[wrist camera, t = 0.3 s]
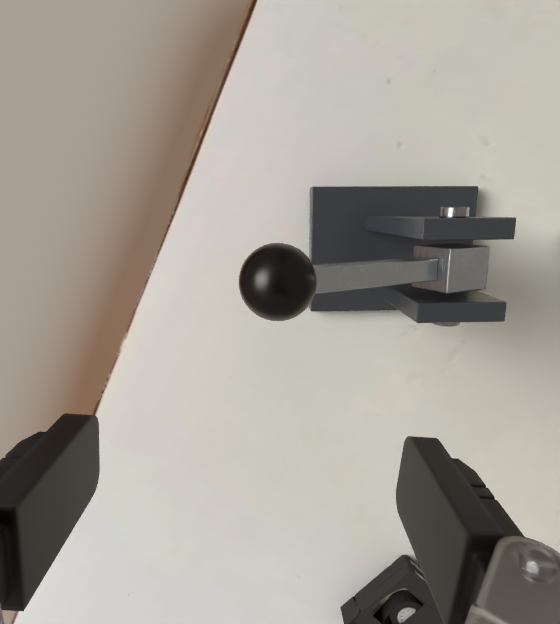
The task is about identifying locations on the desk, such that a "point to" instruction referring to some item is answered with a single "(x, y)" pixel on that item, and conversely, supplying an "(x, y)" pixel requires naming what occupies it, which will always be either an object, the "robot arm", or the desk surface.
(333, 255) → the dark grey pivot stand
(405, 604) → the vhs tape
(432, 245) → the lever with ball knob
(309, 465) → the desk surface
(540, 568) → the robot arm
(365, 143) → the desk surface
